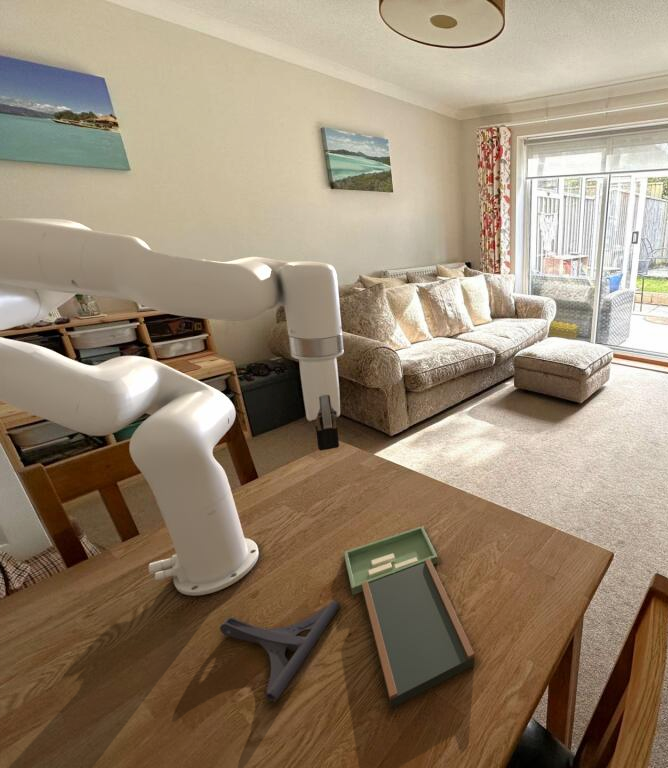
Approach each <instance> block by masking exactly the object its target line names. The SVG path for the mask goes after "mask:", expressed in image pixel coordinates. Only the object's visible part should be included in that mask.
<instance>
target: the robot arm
mask: <svg viewBox="0 0 668 768" xmlns="http://www.w3.org/2000/svg"><path fill="white" fill-rule="evenodd" d="M338 283H339V282H338V275H337V271H336V269H335V268H334V266H332V265H331V264H329V263H326V262H320V261H308V260H307V261H305V260H303V261H302V260H301V261H286V260H279V259H275V258H268V257H263V256H248V257H242V258H239V259H232V260H228V261H217V260H207V259H199V258H192V257H184V256H179V255H173V254H167V253H164V252H159V251H155V250H152V249H151V248H150V247H149V245H148V244H147V243H146V241H144V240H142V239H140V238H139V237H136V236H132V235H129V234H120V233H113V232H106V231H99V230H93V229H91V228H89V227H87V226H85V225H84V224H82V223H79V222H76V221H74V220H73V221H72V220H68V219H64V218H54V217H53V218H52V217H51V218H49V217H48V218H46V217H43V218H39V217H13V218H12V217H4V218H0V331H4V330H8V329H12V328H15V327H19V326H22V325H26V324H29V323H33V322H35V321H38V320H40V319H42V318H44V317H46V316H48V315H49V314H51V313H52V312H54V311H55V310H56V309H58V308H59V307H61V306H62V305H64V304H65V303H67V302H68V301H69V300H70V299H72V298H73V297H75V296H76V295H82V296H92V297H98V298H99V297H100V298H108V299H116V300H124V301H131V302H134V303H136V304H138V305H140V306H143V307H146V308H149V309H152V310H154V311H157V312H161V313H164V314H169V315H174V316H179V317H187V318H197V319H204V320H206V319H207V320H214V321H215V320H216V321H225V322H240V321H241V322H242V321H248V320H252V319H255V318H256V317H258V316H260V315H261V314H264V313H265V312H266V311H269V310H271V309H275V308H277V307H284V315H285V320H286V321H285V322H286V326H287V327H286V329H287V336H288V343H289V349H290V357H291V358H293V359H296V360H298V362H299V374H300V382H301V389H302V396H303V397H302V398H303V404H304V405H303V406H304V410H305V417H306V420H307V421H308V422H312V421H316V425H315V432H316V440H317V448H318V450H319V451H327V450H332V449H337V448H339V447H340V442H339V433H338V431H339V430H338V425H337V422H336V418H339V416H341V398H340V397H341V396H340V383H339V382H340V381H339V369H338V361H337V358H339V357H340V356H343V354H344V353H345V351H344V338H343V328H342V317H341V306H340V293H339V284H338ZM0 402H2V403H4V404H6V405H9V406H11V407H13V408H15V409H18V410H21V411H23V412H26V413H29V414H32V415H34V416H36V417H39V418H41V419H44V420H46V421H50V422H51V423H54V424H57V425H60V426H62V427H63V428H64V427H65V428H67V429H69V430H72V431H75V432H78V433H81V434H84V435H88V436H93V437H104V436H110V435H112V434H114V433H117V432H119V431H121V430H123V429H124V428H126V427H128V426H129V425H131V424H133V423H134V422H135V421H137V420H138V419H139V418H141V417H142V416H143V415H145V414H147V415H150V416H149V417H147V418H146V419H145V420H143V421H142V422H141V423H140V424H139V426H137V428H136V429H135V431H134V432H133V434H132V435H131V437H130V439H129V446H128V449H129V455H130V458H131V459H132V461H133V464H134V465H135V466H136V467H137V469H138V470H139V472H140V473H141V474H142V475H143V477H144V478H145V480H146V481H147V483H148V485H149V487H150V489H151V491H152V495H153V496H154V499H155V501H156V503H157V506H158V509H159V511H160V513H161V516H162V518H163V521H164V524H165V527H166V530H167V532H168V535H169V537H170V541H171V543H172V545H173V548H174V552H175V554H173V555H172V556H171V557H169V558H166V559H161V560H157V561H153V562H150V563H149V564H148V572H149V574H150V575H151V576H152V575H154V580H155V581H156V582H159V581H162V580H165V579H167V578H170V577H171V578H172V577H173V584H174V588H175V589H176V590H177V591H178V592H179V593H181V594H183V595H186V596H195V597H196V596H204V595H208V594H212V593H216V592H219V591H221V590H224V589H225V588H228V587H229V586H231V585H233V584H236V582H239V580H241V579H243V577H245V576H246V575H247V574H248V573H249V572H250V571H251V570H252V569H253V568H254V566H255V565H256V563H257V561H258V559H259V554H260V552H259V547H258V545H257V543H256V542H255V541H254V540H252V539H250V538H247V537H245V535H244V531H243V528H242V524H241V521H240V518H239V517H240V516H239V514H238V510H237V506H236V503H235V499H234V496H233V493H232V489H231V485H230V483H229V479H228V476H227V473H226V471H225V469H224V468H223V467H222V465H221V464H220V463H219V462H218V461H217V460H216V459H215V456H214V453H213V450H214V448H215V447H216V446H217V444H218V443H219V442H220V440H221V439H222V438H223V437H224V436H225V435H226V433H227V432H228V431H229V430H230V429H231V428H232V426H233V425H234V423H235V420H236V415H237V414H236V413H237V412H236V408H235V405H234V403H233V402H232V400H231V399H230V398H229V397H227V395H225V394H224V393H223V392H221V391H220V390H219V389H216V388H214V387H212V386H210V385H208V384H206V383H204V382H203V381H200V380H198V379H196V378H194V377H192V376H190V375H188V374H186V373H183V372H181V371H179V370H177V369H175V368H173V367H171V366H169V365H167V364H165V363H163V362H160V361H158V360H156V359H152V358H148V357H144V356H139V355H122V356H116V357H113V358H110V359H108V360H105V361H102V362H101V363H97V364H96V365H91V364H90V365H89V364H85V363H82V362H79V361H76V360H74V359H72V358H69V357H67V356H64V355H62V354H60V353H58V352H56V351H54V350H53V349H49V348H47V347H44V346H40V345H38V344H33V343H29V342H25V341H20V340H15V339H10V338H5V337H2V336H0Z"/></svg>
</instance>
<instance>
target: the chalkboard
mask: <svg viewBox="0 0 668 768" xmlns="http://www.w3.org/2000/svg"><path fill="white" fill-rule="evenodd" d="M362 590H363V591H362V596H363V600H364V604H365V608H366V612H367V617H368V620H369V624H370V628H371V632H372V636H373V640H374V644H375V648H376V652H377V657H378V660H379V664H380V669H381V673H382V677H383V680H384V681H383V682H384V684H385V685H384V686H385V689H386V693H387V697H388V702H389V705H390V708H391V709H393V708H395V707H397V706H399V705H401V704H403V703H405V702H406V701H408V700H410V699H412V698H414V697H416V696H418V695H420V694H421V693H422V694H423V692H426V691H428V690H430V689H431V688H434V687H435V686H437V685H439V684H441V683H443V682H444V681H447V680H448V679H451V678H452V677H454V676H456V675H458V674H460V673H462V672H464V671H466V670H468V669H470V668H471V667H474V666H475V652H474V650H473V648H472V646H471V643H470V641H469V639H468V637H467V635H466V633H465V631H464V628H463V626H462V624H461V622H460V620H459V618H458V615H457V613H456V611H455V608H454V607H453V604H452V603H451V599H450V598H449V595H448V594H447V592H446V589H445V587H444V585H443V583H442V581H441V579H440V577H439V575H438V573H437V570H436V569H435V566H434V564H432V562H431V560H430V558H429V559H426V560H425V563H422V564H420V565H417V566H414V567H412V568H409V569H406V570H404V571H401V572H398V573H396V574H393V575H390V576H388V577H385V578H382V579H380V580H377V581H374V582H372V583H369V584H368V581H367V582H364V583H362Z"/></svg>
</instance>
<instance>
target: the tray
mask: <svg viewBox="0 0 668 768" xmlns="http://www.w3.org/2000/svg"><path fill="white" fill-rule="evenodd" d="M390 554H394V557H395V562H392V563H391V565H392V571H390V572H387V573H384V574H382V575H379V576H376V577H374V578H371V579H370V578H369V574H368V570H371V569H373V568H372V563H371V561H372V560H374V559H377V558H380V557H383V556H386V555H390ZM343 557H344V561H345V568H346V571H347V575H348V581H349V586H350V589H351V594H352V595H353V596H355V595H357V594H359V593H363V590H362V583H364V582H367V581H368V584H369V583H372V582H374V581H377V580H380V579H382V578H385V577H388V576H390V575H393V574H396V573H398V572H401V571H404V570H406V569H409V568H412V567H414V566H417V565H420V564H422V563H425V560H426V559H429V558H430V560H431V562H432V564H433V565H436V564H438V562H439V561H438V560H439V559H438V555H437V552H436V551H435V549H434V546H433V544H432V543H431V540H430V538H429V536H428V534H427V532H426V531H425V528H424V526H423V525H421V526H418V527H415V528H412V529H409V530H406V531H403V532H399V533H396V534H394V535H391V536H387V537H384V538H382V539H381V538H380V539H379V540H376V541H372V542H369V543H367V544H363V545H360V546H357V547H353V548H350V549H348V550H345V551H343ZM415 557H416V558H417V562H414V563H412V564H409V565H406V566H403V567H401V568H398V569H395V566H394V565H395V564H398V563H401V562H404V561H407V560H409V559H412V558H415Z"/></svg>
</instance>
